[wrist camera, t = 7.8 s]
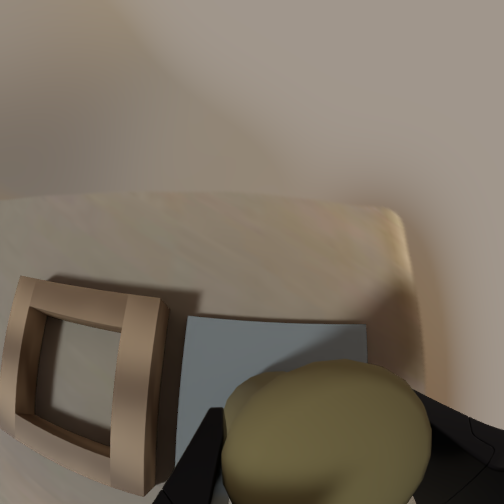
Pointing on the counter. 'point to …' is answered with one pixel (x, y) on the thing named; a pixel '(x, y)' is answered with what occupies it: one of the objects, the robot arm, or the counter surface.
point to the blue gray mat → (250, 359)
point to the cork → (325, 437)
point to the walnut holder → (125, 385)
